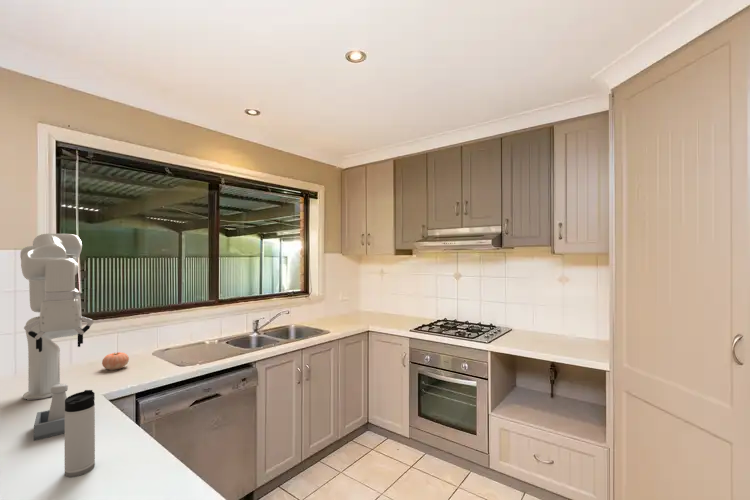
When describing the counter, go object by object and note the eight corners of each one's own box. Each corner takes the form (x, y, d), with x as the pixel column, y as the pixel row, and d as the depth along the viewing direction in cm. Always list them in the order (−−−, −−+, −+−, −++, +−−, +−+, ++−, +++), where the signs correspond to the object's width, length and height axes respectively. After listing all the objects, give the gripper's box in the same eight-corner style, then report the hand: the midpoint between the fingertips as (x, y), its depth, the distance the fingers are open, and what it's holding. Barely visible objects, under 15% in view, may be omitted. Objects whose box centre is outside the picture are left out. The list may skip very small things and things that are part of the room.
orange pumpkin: (104, 367, 184) (105, 351, 184) (130, 364, 189) (130, 348, 189) (99, 373, 174) (99, 356, 174) (126, 370, 179) (126, 354, 179)
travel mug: (101, 462, 101) (101, 389, 101) (83, 477, 95) (83, 399, 95) (77, 462, 101) (77, 389, 101) (58, 477, 94) (58, 399, 94)
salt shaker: (68, 418, 125) (68, 380, 125) (73, 423, 122) (73, 384, 122) (45, 425, 121) (45, 385, 121) (49, 430, 117) (49, 389, 117)
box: (37, 426, 122) (37, 412, 122) (83, 415, 130) (83, 403, 130) (33, 440, 113) (33, 426, 113) (83, 428, 120) (83, 414, 120)
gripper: (93, 293, 130) (93, 342, 130) (25, 297, 119) (25, 350, 119) (93, 295, 124) (93, 346, 124) (22, 299, 113) (22, 355, 113)
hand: (60, 348), depth 121 cm, fingers open, 9 cm apart
